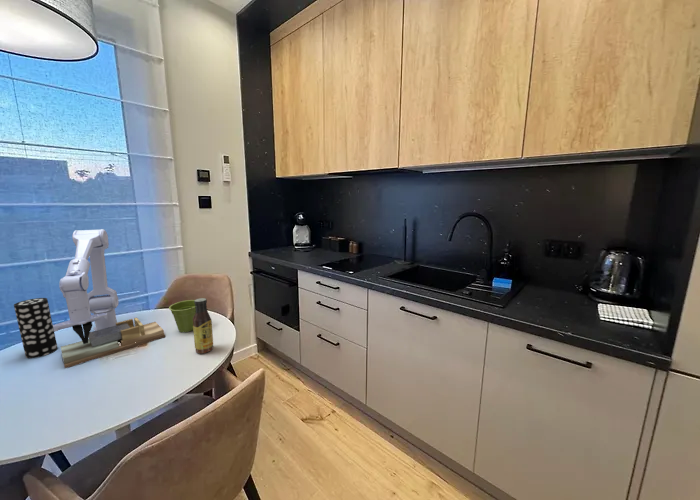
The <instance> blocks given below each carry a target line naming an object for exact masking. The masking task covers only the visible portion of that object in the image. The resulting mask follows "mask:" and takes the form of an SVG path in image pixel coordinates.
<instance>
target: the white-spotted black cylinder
mask: <svg viewBox="0 0 700 500" xmlns="http://www.w3.org/2000/svg"><path fill="white" fill-rule="evenodd" d="M13 308H14V312H15V317H16V321H17V325H18V329H19V334H20V338H21V342H22V347H23V351H24V355H25V358H26V359H37V358H40V357H45V356H47V355H50V354H53V353H54V352H56V351H57V350H58V343H57V338H56V334H55V332H54V329H53V325H54V324H53V319H52V316H51V315H52V314H51V310H50V305H49V301H48V298H47V297H38V298H30V299H26V300H22V301H19V302H16V303H14V304H13Z"/></svg>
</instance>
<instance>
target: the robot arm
mask: <svg viewBox="0 0 700 500" xmlns="http://www.w3.org/2000/svg"><path fill="white" fill-rule="evenodd" d="M72 241H73V243H74V246H75V247H76V249H75V256H74V258H73V259H71V260H70V261H69V263H68V266H67V270H66V273H65V276H64V277H61V278H60V279H59V282H58V283H59V290H60V292H61V294H62V297H63V298H65V301H66V306H67V311H68V317H69V319H68V320H66V321H63V322H59V323H56V324H53V329H54V333H55V332H58V331H60V330H64V329H68V328H72V330H73V331H74V332H75V333H76V334H77V335H78V336H79V338H80V339H81V341H83V344H86V343H88V339H89V333H90V332H91V331H92V328H93V331H97V330H100V329H104V328H108V327H112V326H116V323H118V321H117V316H116V315H117V313H116V309H117V307H119V296H118V293H117V290H115V289H113V288H111V287H109V286H108V285H109V284H108V278H107V277H108V276H107V267H106V259H105V250H106V249H109V245H110V244H109V236H108V233H107V231H106V230H105V229H104V228H101V229H86V230H85V229H83V230H82V229H81V230H78V229H75V230H74V231H73V233H72ZM89 271H91V272H90V273H91V281H92V290H91V291H89V292H88V289H89V283H90V282H89V275H88V274H89ZM93 322H94V324H95V326H94V327H93Z"/></svg>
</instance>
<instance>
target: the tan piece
mask: <svg viewBox="0 0 700 500" xmlns="http://www.w3.org/2000/svg"><path fill="white" fill-rule="evenodd" d="M124 323H127V324H128V325H129V326H130V328H128V329H124V330H121V335H122V339H119V340H116V341H112V342H109V343H105V344H102V345H98V346H95V347H92V346H91V343H90V341H89V338H88V343H86V344H83V341H82V340H81V341H76V342H73V343H70V344H66V345H63V346H62V345H61V346H60V351H61V356H62V360H63V365H64V369H68V368H71V367H74V366H77V365H81V364H83V363H88V362H91V361H92V360H93V361H94V360H97V359H100V358H103V357H106V356H109V355H112V354H116V353H119V352H122V351H125V350H127V349H128V350H129V349H132V348H135V347H138V346H141V344H142V343H145V344H147V343H151V342H154V341H157V340H161V339H163V338H166V334H165V331H164V328H162V327H161V326H160V324H158V323H157V322H156V321H153V322H149V323H146V324H143V323H142V322H141V321H140V319H139V318H137V317H134V318H130V319H127V320H122V321H117V323H116V325H120V324H124ZM118 342H120V343H121V346H119V344H118ZM135 342H136V343H135ZM142 345H143V344H142Z"/></svg>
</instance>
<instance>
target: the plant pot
mask: <svg viewBox="0 0 700 500" xmlns="http://www.w3.org/2000/svg"><path fill="white" fill-rule="evenodd" d="M195 300H196V299H190V300H189V299H188V300H182V301H181V300H180V301H178V302H175V303H172V304H171V305H170V306H169V307H168V310H169V311H171V314H172V316H173V318H174V321H175V325H176V327H177V329H178V331H179V333H189V332H191V331H193V317H194V315H195V313H196V308H195V303H194V301H195Z"/></svg>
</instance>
